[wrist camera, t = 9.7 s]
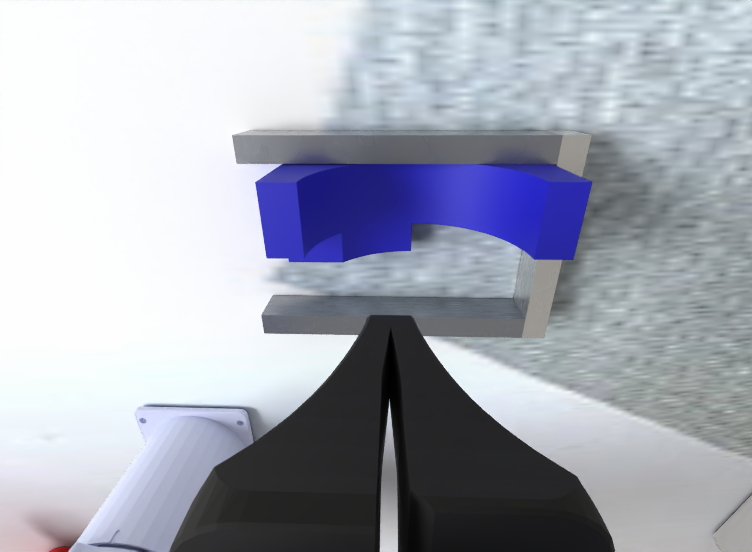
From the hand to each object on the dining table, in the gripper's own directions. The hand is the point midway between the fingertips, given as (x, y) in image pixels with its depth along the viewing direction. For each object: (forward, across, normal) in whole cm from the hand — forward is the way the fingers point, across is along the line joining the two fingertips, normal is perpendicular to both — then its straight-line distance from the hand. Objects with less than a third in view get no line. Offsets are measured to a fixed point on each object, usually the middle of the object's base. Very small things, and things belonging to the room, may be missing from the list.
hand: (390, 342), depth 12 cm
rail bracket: (+10, 0, 0) cm, 10 cm away
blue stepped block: (+10, -1, -2) cm, 11 cm away
